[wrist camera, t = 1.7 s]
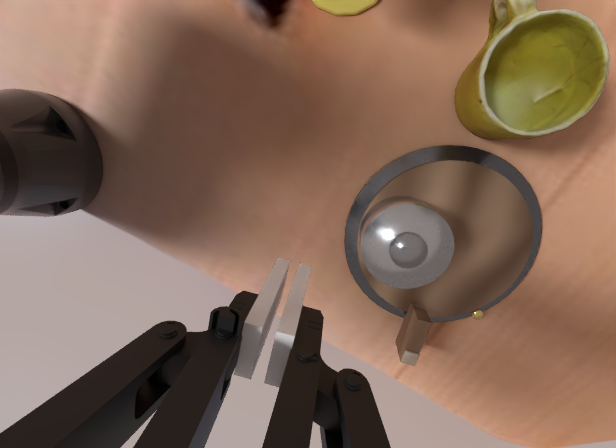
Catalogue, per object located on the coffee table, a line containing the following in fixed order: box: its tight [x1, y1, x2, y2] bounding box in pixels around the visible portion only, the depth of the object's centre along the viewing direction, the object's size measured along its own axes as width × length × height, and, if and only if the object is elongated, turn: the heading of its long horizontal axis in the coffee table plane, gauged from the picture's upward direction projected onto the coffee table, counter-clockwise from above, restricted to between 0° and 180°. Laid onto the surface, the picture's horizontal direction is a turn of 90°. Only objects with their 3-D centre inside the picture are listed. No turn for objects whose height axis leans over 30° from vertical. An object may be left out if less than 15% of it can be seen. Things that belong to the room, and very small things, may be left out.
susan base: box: [345, 145, 542, 322], centre depth 34 cm, size 22×22×1 cm
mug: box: [455, 0, 610, 139], centre depth 26 cm, size 12×10×10 cm
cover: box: [359, 196, 454, 289], centre depth 31 cm, size 9×9×5 cm
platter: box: [357, 160, 533, 366], centre depth 33 cm, size 19×24×4 cm
